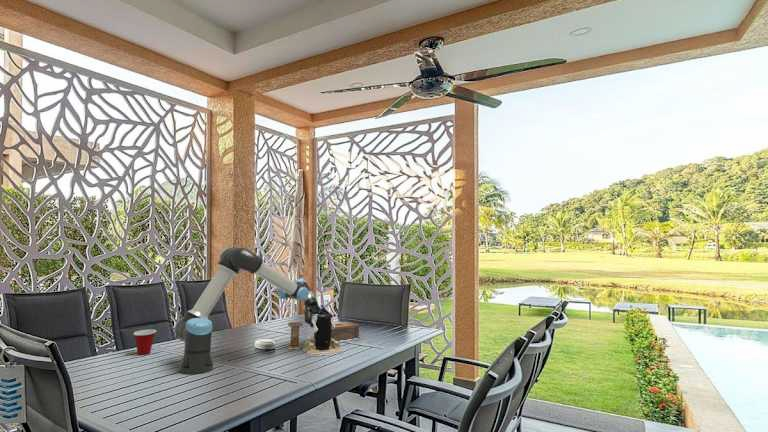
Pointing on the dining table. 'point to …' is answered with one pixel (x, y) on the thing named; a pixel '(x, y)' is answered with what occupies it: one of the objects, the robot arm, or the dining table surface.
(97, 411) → the dining table surface
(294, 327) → the bobbin
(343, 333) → the tissue box cover
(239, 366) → the dining table surface
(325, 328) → the portable speaker
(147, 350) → the plastic cup
